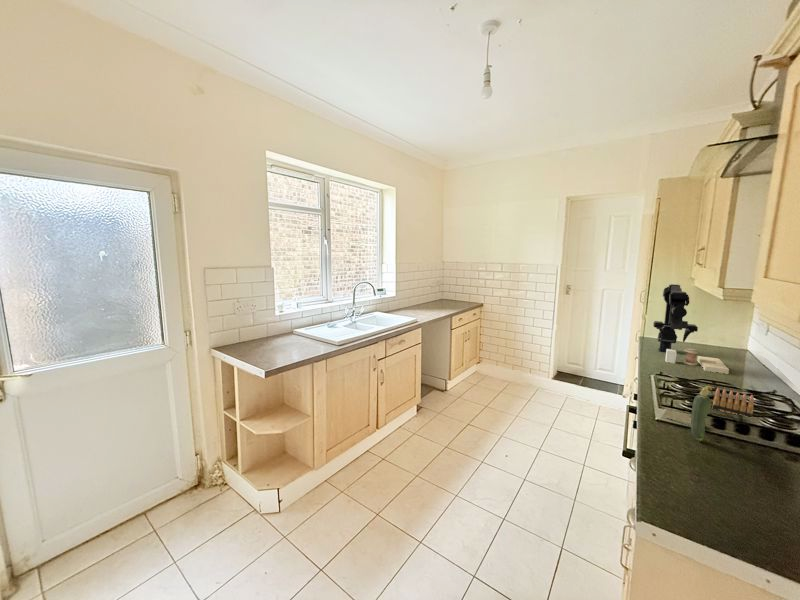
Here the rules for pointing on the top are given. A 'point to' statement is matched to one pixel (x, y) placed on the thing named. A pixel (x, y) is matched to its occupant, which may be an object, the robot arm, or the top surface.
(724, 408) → the ammunition clip
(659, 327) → the robot arm
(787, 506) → the top surface
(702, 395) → the vegetable
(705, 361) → the notched board
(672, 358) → the block
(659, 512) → the top surface
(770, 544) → the top surface
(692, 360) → the bobbin
